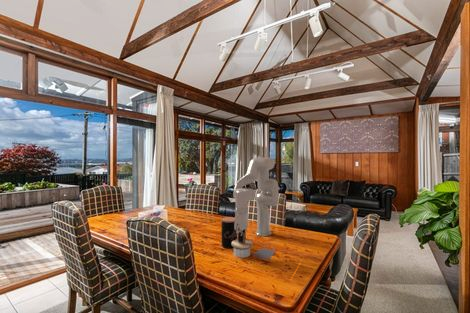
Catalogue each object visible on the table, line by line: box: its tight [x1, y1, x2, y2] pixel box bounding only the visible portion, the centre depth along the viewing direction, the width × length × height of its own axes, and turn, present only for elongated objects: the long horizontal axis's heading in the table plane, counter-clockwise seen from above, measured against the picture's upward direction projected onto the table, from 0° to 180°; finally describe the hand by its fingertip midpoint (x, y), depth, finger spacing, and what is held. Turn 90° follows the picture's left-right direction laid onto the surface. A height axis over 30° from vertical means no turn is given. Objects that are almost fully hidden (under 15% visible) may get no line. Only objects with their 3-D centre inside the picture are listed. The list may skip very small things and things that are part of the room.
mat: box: [252, 247, 277, 260], centre depth 139 cm, size 14×10×1 cm
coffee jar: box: [221, 216, 238, 249], centre depth 153 cm, size 11×11×18 cm
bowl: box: [233, 247, 251, 258], centre depth 138 cm, size 10×10×5 cm
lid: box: [231, 232, 254, 249], centre depth 138 cm, size 13×13×7 cm
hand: (241, 240), depth 138 cm, fingers closed on lid, 2 cm apart
